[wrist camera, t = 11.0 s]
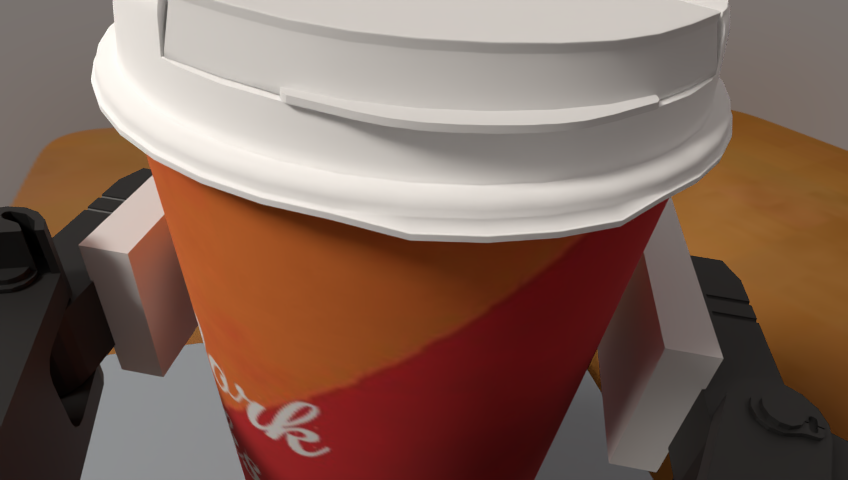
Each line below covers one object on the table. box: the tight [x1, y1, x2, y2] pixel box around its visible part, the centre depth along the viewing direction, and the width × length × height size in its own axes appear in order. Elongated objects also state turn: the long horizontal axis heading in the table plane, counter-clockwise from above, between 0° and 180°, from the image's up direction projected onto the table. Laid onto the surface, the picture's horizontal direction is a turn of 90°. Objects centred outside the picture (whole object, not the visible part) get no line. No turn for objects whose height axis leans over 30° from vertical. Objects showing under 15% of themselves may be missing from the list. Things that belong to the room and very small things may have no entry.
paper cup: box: [91, 0, 732, 480], centre depth 11 cm, size 8×8×14 cm
